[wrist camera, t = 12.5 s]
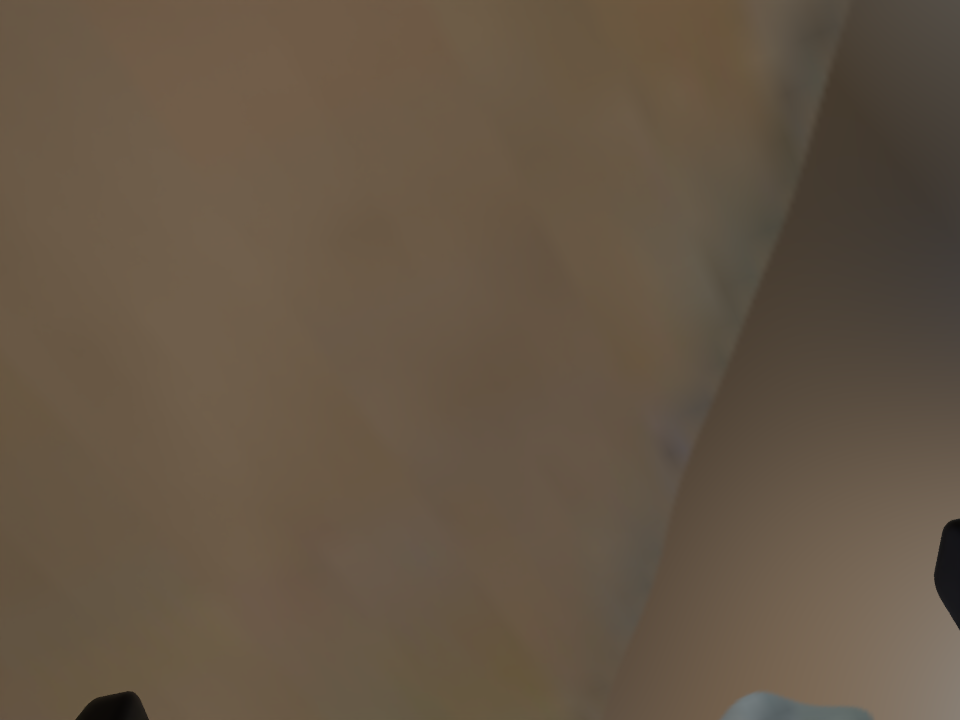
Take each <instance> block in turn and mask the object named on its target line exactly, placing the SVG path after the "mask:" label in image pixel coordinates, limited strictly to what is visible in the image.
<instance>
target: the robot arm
mask: <svg viewBox="0 0 960 720" xmlns="http://www.w3.org/2000/svg"><path fill="white" fill-rule="evenodd" d="M934 580H935V586H936V589H937V592H938V594H939V596H940V598H941V600H942V602H943V603H944V605H945V607H946V608H947V610H948V611H949V613H950V615H951V617H952V618H953V620H954V621H955V623H956V625H957V626H958V628H959V630H960V519H956V520H952V521H950V522H948V523H947V524H946V526H945V527H944V529H943V532H942V537H941V542H940V547H939V552H938V557H937V562H936V567H935V572H934ZM76 720H149V719H148V717H147V714H146V712H145V710H144V707H143V705H142V703H141V700H140V698H139V697H138V696H137V695H136V694H135V693H134V692H129V691H127V692H122V693H117V694H112V695H108V696H103V697H98V698H96V699H94V700H92V701H91V702H90V703H89V704H88V705H87V706H86V707H85V708H84V710H83V711H82V712H81V713H80V715H79V716H78V717H77V718H76Z"/></svg>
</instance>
